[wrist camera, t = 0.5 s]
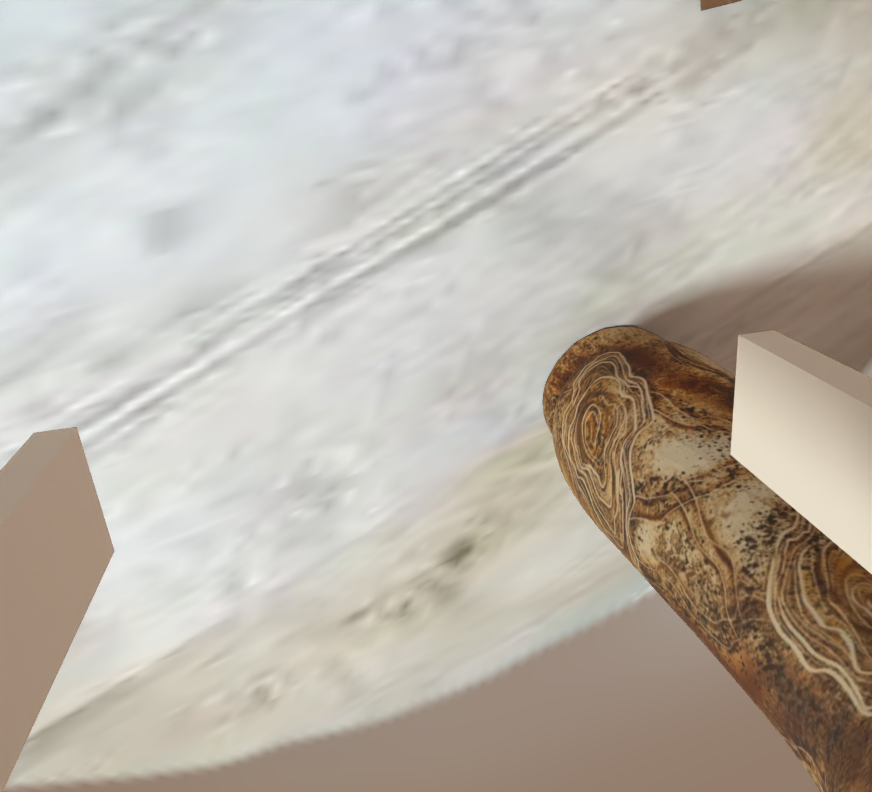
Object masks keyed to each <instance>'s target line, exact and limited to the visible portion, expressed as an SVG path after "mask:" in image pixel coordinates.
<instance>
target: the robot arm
mask: <svg viewBox="0 0 872 792" xmlns="http://www.w3.org/2000/svg"><path fill="white" fill-rule="evenodd" d="M730 455H731V456H733V457H734V458H735V459H736V460H737V461H738V462H740V463H741V464H742V465H743V466H744V467H746V468H747V469H748V470H749V471H750V472H751V473H753V474H754V475H755V476H756V477H757V478H759V479H760V480H761V481H762V482H763V483H764V484H766V485H767V486H768V487H769V488H770V489H772V490H773V491H774V492H775V493H776V494H777V495H779V496H780V497H781V498H782V499H783V500H784V501H786V502H787V503H788V504H789V505H790V506H792V507H793V508H794V509H795V510H796V511H797V512H799V513H800V514H801V515H802V516H803V517H805V518H806V519H807V520H808V521H809V522H810V523H812V524H813V525H814V526H815V527H816V528H818V529H819V530H820V531H821V532H822V533H823V534H825V535H826V536H827V537H828V538H829V539H831V540H832V541H833V542H834V543H835V544H836V545H838V546H839V547H840V548H841V549H842V550H844V551H845V552H846V553H847V554H848V555H849V556H851V557H852V558H853V559H854V560H855V561H857V562H858V563H859V564H860V565H861V566H862V567H864V568H865V569H866V570H867V571H868V572H869V573H871V574H872V378H870V377H868V376H866V375H864V374H862V373H860V372H858V371H856V370H854V369H852V368H850V367H848V366H846V365H844V364H842V363H840V362H838V361H836V360H834V359H832V358H830V357H827V356H825V355H823V354H821V353H819V352H817V351H815V350H813V349H811V348H809V347H807V346H805V345H803V344H801V343H799V342H797V341H795V340H793V339H791V338H789V337H787V336H785V335H783V334H781V333H779V332H777V331H775V330H769V331H762V332H755V333H748V334H741V335H738V347H737V362H736V377H735V392H734V407H733V422H732V438H731V453H730ZM113 553H114V548H113V545H112V541H111V538H110V535H109V532H108V528H107V525H106V522H105V519H104V515H103V512H102V509H101V506H100V502H99V499H98V496H97V493H96V489H95V486H94V483H93V480H92V476H91V473H90V470H89V466H88V463H87V460H86V457H85V453H84V450H83V447H82V444H81V440H80V437H79V434H78V431H77V427H72V428H65V429H58V430H51V431H44V432H36V433H33V434H32V435H31V437H30V438H29V439H28V440H27V441H26V442H25V443H24V445H23V446H22V447H21V448H20V449H19V450H18V451H17V453H16V454H15V455H14V456H13V457H12V458H11V459H10V460H9V462H8V463H7V464H6V465H5V466H4V467H3V468H2V470H1V471H0V792H3V789H4V787H5V785H6V783H7V781H8V779H9V776H10V774H11V772H12V770H13V768H14V766H15V764H16V761H17V759H18V757H19V755H20V753H21V751H22V749H23V746H24V744H25V742H26V740H27V738H28V736H29V733H30V731H31V729H32V727H33V725H34V723H35V721H36V718H37V716H38V714H39V712H40V710H41V708H42V706H43V703H44V701H45V699H46V697H47V695H48V693H49V690H50V688H51V686H52V684H53V682H54V680H55V678H56V675H57V673H58V671H59V669H60V667H61V665H62V663H63V660H64V658H65V656H66V654H67V652H68V650H69V647H70V645H71V643H72V641H73V639H74V637H75V635H76V632H77V630H78V628H79V626H80V624H81V622H82V620H83V617H84V615H85V613H86V611H87V609H88V607H89V604H90V602H91V600H92V598H93V596H94V594H95V592H96V589H97V587H98V585H99V583H100V581H101V579H102V577H103V574H104V572H105V570H106V568H107V566H108V564H109V561H110V559H111V557H112V555H113Z"/></svg>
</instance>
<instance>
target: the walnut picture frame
mask: <svg viewBox="0 0 872 792" xmlns="http://www.w3.org/2000/svg"><path fill="white" fill-rule="evenodd" d="M738 1H741V0H701V11H702V10H706V9H710V8H714V7H718V6H722V5H726V4H730V3H734V2H738Z"/></svg>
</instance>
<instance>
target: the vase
mask: <svg viewBox="0 0 872 792" xmlns="http://www.w3.org/2000/svg"><path fill="white" fill-rule="evenodd" d="M734 392H735V377H734V376H733V375H732V374H730V373H729V372H728V371H726V370H725V369H723V368H722V367H721V366H719V365H718V364H716V363H715V362H713V361H712V360H711V359H709V358H708V357H706V356H704V355H702V354H700V353H698V352H696V351H694V350H692V349H690V348H687V347H685V346H682V345H679V344H676V343H673V342H668V341H663V340H662V339H661V338H659V337H658V336H656V335H654V334H652V333H650V332H648V331H645V330H643V329H640V328H635V327H614V328H608V329H603V330H600V331H597V332H595V333H593V334H591V335H588V336H586V337H584V338H582V339H581V340H579V341H577V342H576V343H574V344H573V345H572V346H571V347H570V348H569V349H568V350H567V351H566V352H565V353H564V354H563V355H562V357H561V358H560V359H559V360H558V361H557V363H556V365H555V366H554V368H553V370H552V372H551V373H550V375H549V377H548V379H547V382H546V384H545V388H544V393H543V410H544V416H545V420H546V423H547V425H548V427H549V429H550V431H551V433H552V434H553V442H554V447H555V452H556V456H557V459H558V462H559V465H560V468H561V471H562V473H563V475H564V477H565V479H566V482H567V484H568V485H569V487H570V489H571V490H572V492H573V494H574V495H575V497H576V498H577V500H578V501H579V503H580V504H581V506H582V507H583V509H584V510H585V511H586V513H587V514H588V515H589V516H590V518H591V519H592V520H593V521H594V523H595V524H596V525H597V526H598V527H599V529H600V530H601V531H602V532H603V533H604V534H605V535H606V536H607V537H608V538H609V539H610V541H611V542H612V543H613V544H614V545H615V546H616V547H617V548H618V549H619V550H620V551H621V553H622V554H623V555H624V556H625V557H626V558H627V559H628V560H629V561H630V562H631V563H632V564H633V566H634V567H635V568H636V569H637V570H638V571H639V572H640V573H641V574H642V575H643V576H644V578H645V579H646V580H647V581H648V582H649V583H650V584H651V586H652V587H653V588H654V589H655V590H656V591H657V592H658V593H659V594H660V596H661V597H662V598H663V599H664V600H665V601H666V602H667V603H668V604H669V605H670V606H671V608H672V609H673V610H674V611H675V612H676V613H677V614H678V616H679V617H680V618H681V619H682V620H683V621H684V622H685V623H686V624H687V625H688V627H689V628H690V629H691V630H692V631H693V632H694V633H695V634H696V636H697V637H698V638H699V639H700V640H701V641H702V642H703V643H704V645H705V646H706V647H707V648H708V649H709V650H710V651H711V652H712V653H713V655H714V656H715V657H716V658H717V659H718V660H719V662H720V663H721V664H722V665H723V666H724V667H725V668H726V670H727V671H728V672H729V673H730V674H731V676H732V677H733V678H734V679H735V680H736V682H737V683H738V684H739V685H740V686H741V687H742V689H743V690H744V691H745V692H746V693H747V695H748V696H749V697H750V698H751V699H752V701H753V702H754V703H755V704H756V705H757V707H758V708H759V709H760V710H761V711H762V713H763V714H764V715H765V716H766V717H767V719H768V720H769V721H770V722H771V724H772V725H773V726H774V727H775V729H776V730H777V731H778V732H779V734H780V735H781V736H782V738H783V739H784V740H785V741H786V743H787V744H788V745H789V747H790V748H791V749H792V751H793V752H794V753H795V755H796V756H797V757H798V759H799V760H800V762H801V763H802V764H803V766H804V767H805V769H806V770H807V772H808V773H809V775H810V776H811V778H812V779H813V781H814V782H815V784H816V786H817V787H818V789H819V790H820V792H872V574H871V573H869V572H868V571H867V570H866V569H865V568H864V567H862V566H861V565H860V564H859V563H858V562H857V561H855V560H854V559H853V558H852V557H851V556H849V555H848V554H847V553H846V552H845V551H844V550H842V549H841V548H840V547H839V546H838V545H836V544H835V543H834V542H833V541H832V540H831V539H829V538H828V537H827V536H826V535H825V534H823V533H822V532H821V531H820V530H819V529H818V528H816V527H815V526H814V525H813V524H812V523H810V522H809V521H808V520H807V519H806V518H805V517H803V516H802V515H801V514H800V513H799V512H797V511H796V510H795V509H794V508H793V507H792V506H790V505H789V504H788V503H787V502H786V501H784V500H783V499H782V498H781V497H780V496H779V495H777V494H776V493H775V492H774V491H773V490H772V489H770V488H769V487H768V486H767V485H766V484H764V483H763V482H762V481H761V480H760V479H759V478H757V477H756V476H755V475H754V474H753V473H751V472H750V471H749V470H748V469H747V468H746V467H744V466H743V465H742V464H741V463H740V462H738V461H737V460H736V459H735V458H734V457H733V456H731V455H730V453H731V438H732V422H733V407H734Z"/></svg>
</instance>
